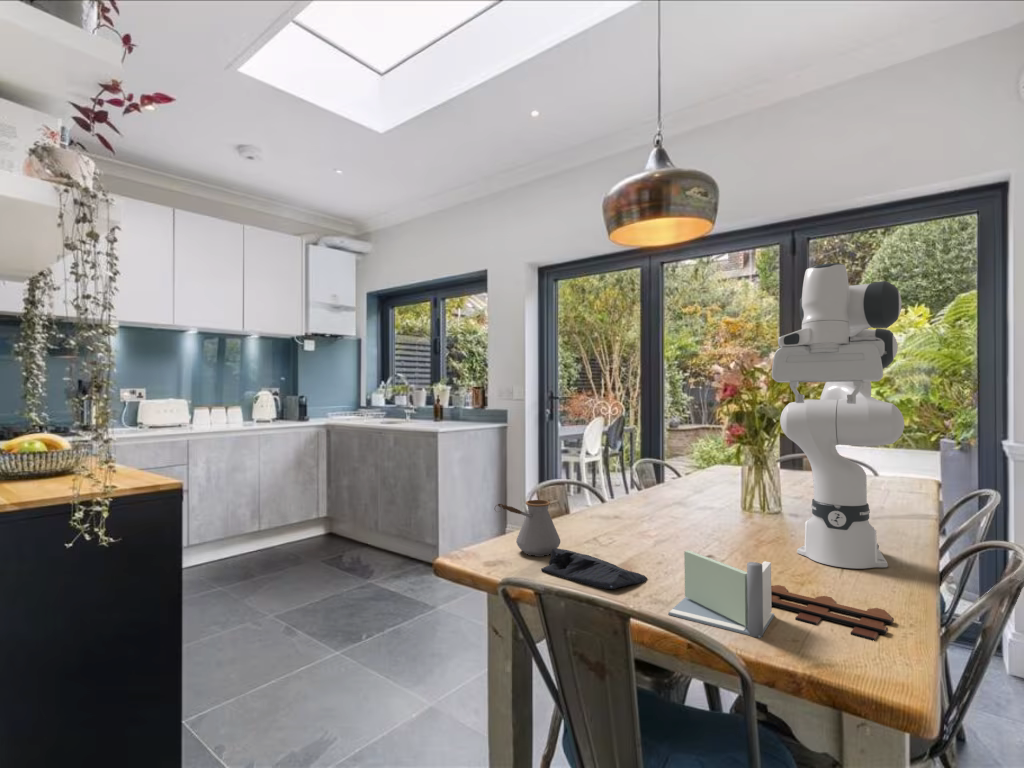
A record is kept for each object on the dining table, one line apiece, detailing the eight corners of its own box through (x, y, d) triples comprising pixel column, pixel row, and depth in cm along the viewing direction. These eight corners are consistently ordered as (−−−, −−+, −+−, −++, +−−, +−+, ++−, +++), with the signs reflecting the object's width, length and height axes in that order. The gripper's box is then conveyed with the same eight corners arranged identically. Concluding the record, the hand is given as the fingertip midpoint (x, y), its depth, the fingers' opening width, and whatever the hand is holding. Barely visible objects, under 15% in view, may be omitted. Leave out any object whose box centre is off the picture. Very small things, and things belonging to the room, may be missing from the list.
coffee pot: (535, 542, 149) (534, 488, 149) (569, 551, 141) (568, 493, 141) (480, 562, 133) (479, 500, 133) (515, 572, 125) (515, 507, 125)
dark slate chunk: (607, 599, 110) (607, 576, 110) (535, 571, 127) (535, 551, 127) (653, 582, 120) (653, 560, 120) (581, 558, 137) (580, 539, 137)
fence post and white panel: (761, 613, 101) (760, 549, 101) (775, 616, 100) (774, 551, 100) (746, 635, 93) (745, 564, 93) (761, 638, 91) (760, 567, 91)
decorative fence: (882, 647, 90) (898, 619, 100) (882, 636, 90) (898, 609, 100) (740, 608, 106) (767, 587, 116) (740, 599, 106) (767, 579, 116)
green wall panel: (750, 624, 95) (749, 573, 95) (745, 626, 94) (744, 574, 94) (689, 595, 108) (689, 550, 108) (684, 596, 108) (684, 551, 108)
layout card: (688, 596, 110) (688, 593, 110) (774, 615, 100) (774, 613, 100) (668, 614, 101) (668, 612, 101) (760, 638, 92) (760, 635, 92)
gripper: (885, 337, 111) (886, 404, 110) (776, 343, 123) (775, 403, 122) (883, 332, 106) (884, 402, 105) (770, 338, 118) (769, 401, 117)
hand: (825, 403), depth 114 cm, fingers open, 8 cm apart
